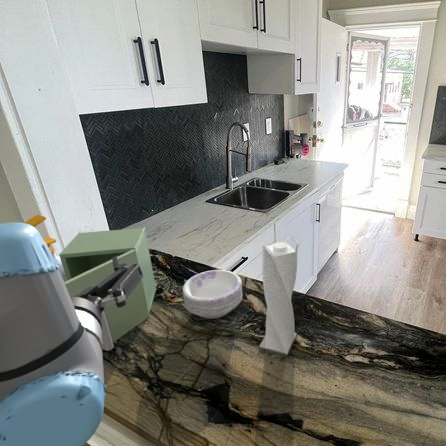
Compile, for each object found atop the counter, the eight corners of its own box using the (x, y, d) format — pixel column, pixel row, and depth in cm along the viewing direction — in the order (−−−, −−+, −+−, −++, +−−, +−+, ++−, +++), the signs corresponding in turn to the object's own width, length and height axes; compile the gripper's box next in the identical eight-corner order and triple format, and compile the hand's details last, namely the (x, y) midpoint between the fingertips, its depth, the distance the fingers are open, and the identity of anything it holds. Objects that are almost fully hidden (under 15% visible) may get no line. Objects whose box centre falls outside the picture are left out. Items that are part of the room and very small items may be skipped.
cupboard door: (166, 323, 80) (153, 255, 72) (107, 369, 67) (83, 292, 59) (147, 315, 83) (133, 249, 75) (86, 358, 69) (62, 283, 62)
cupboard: (149, 314, 83) (135, 247, 75) (81, 323, 80) (58, 254, 72) (156, 288, 94) (144, 227, 86) (96, 295, 90) (78, 232, 82)
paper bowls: (213, 285, 96) (210, 263, 93) (253, 301, 89) (252, 277, 86) (173, 314, 83) (169, 289, 80) (217, 334, 77) (214, 308, 74)
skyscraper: (302, 335, 77) (305, 232, 66) (291, 360, 70) (293, 249, 59) (270, 328, 79) (268, 227, 68) (257, 351, 72) (252, 243, 61)
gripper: (-63, 425, 32) (-8, 329, 50) (179, 316, 44) (155, 270, 62) (-105, 368, 30) (-32, 288, 48) (163, 269, 42) (142, 234, 59)
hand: (74, 278), depth 55 cm, fingers open, 13 cm apart
